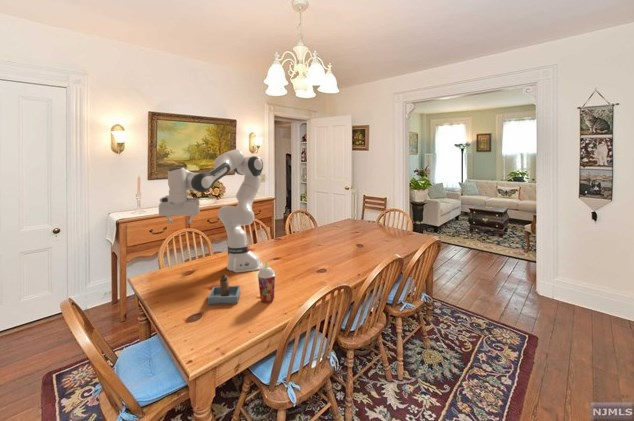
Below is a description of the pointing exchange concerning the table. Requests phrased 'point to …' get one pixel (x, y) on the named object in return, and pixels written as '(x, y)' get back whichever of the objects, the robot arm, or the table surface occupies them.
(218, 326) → the table surface
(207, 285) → the table surface
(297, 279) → the table surface
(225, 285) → the pepper mill
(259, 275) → the smoothie
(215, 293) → the serving tray
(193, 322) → the table surface
